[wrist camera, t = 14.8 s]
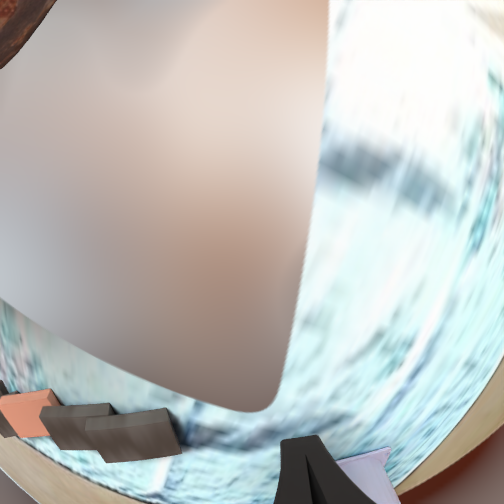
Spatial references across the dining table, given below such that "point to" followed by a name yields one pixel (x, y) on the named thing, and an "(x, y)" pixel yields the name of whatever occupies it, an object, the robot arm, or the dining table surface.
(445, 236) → the dining table surface
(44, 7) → the jug
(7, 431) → the tile
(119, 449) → the tile
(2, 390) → the tile
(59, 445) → the tile
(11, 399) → the tile
